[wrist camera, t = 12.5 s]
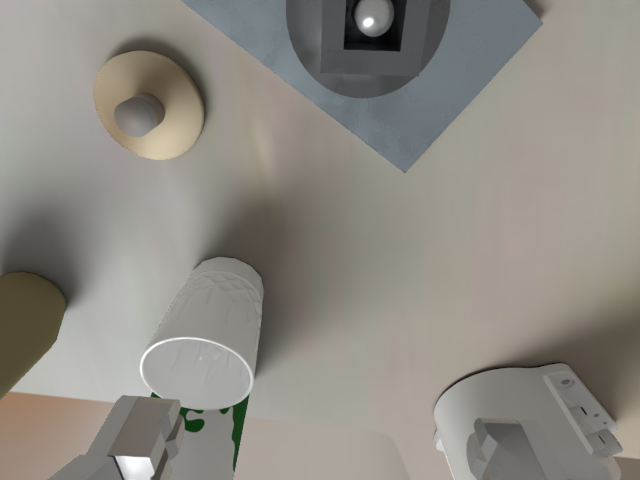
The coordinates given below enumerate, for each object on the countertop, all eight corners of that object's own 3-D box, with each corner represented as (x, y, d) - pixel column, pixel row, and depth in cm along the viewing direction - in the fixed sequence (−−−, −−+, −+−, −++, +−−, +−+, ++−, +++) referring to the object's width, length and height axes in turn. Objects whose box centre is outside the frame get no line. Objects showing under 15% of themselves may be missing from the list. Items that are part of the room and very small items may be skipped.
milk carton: (191, 397, 44) (108, 647, 27) (153, 345, 39) (23, 607, 22) (262, 385, 43) (222, 639, 26) (232, 330, 38) (158, 595, 21)
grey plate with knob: (536, 22, 23) (600, 28, 18) (402, 169, 29) (420, 207, 23) (298, -243, 18) (288, -347, 12) (185, 0, 23) (143, 0, 18)
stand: (222, 95, 26) (209, 108, 23) (178, 172, 29) (161, 192, 26) (124, 25, 24) (95, 28, 21) (87, 116, 27) (57, 131, 24)
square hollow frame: (420, -40, 20) (438, -47, 16) (405, 66, 22) (418, 76, 19) (323, -43, 19) (323, -52, 16) (320, 63, 22) (320, 72, 19)
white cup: (192, 239, 32) (145, 324, 24) (281, 265, 34) (266, 354, 25) (178, 304, 36) (133, 397, 28) (258, 325, 38) (238, 419, 29)
